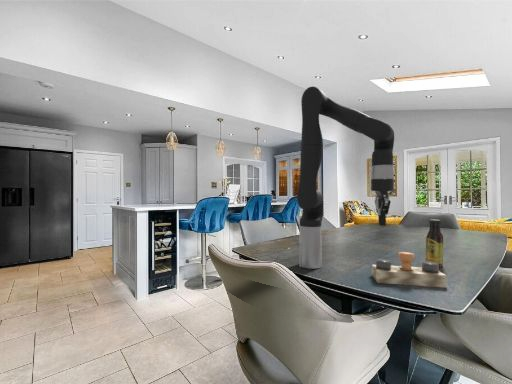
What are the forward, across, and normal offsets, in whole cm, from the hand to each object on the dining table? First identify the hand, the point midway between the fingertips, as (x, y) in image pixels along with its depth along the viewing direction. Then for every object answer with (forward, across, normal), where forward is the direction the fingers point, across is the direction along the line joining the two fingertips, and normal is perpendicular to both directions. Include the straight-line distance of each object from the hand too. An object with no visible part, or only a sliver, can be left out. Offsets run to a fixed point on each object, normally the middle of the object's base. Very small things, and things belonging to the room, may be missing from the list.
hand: (382, 225), depth 94 cm
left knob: (+19, +1, 0) cm, 19 cm away
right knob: (+19, +1, +15) cm, 24 cm away
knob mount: (+19, +1, +8) cm, 21 cm away
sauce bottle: (+19, -23, +26) cm, 40 cm away
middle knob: (+16, +1, +8) cm, 18 cm away
